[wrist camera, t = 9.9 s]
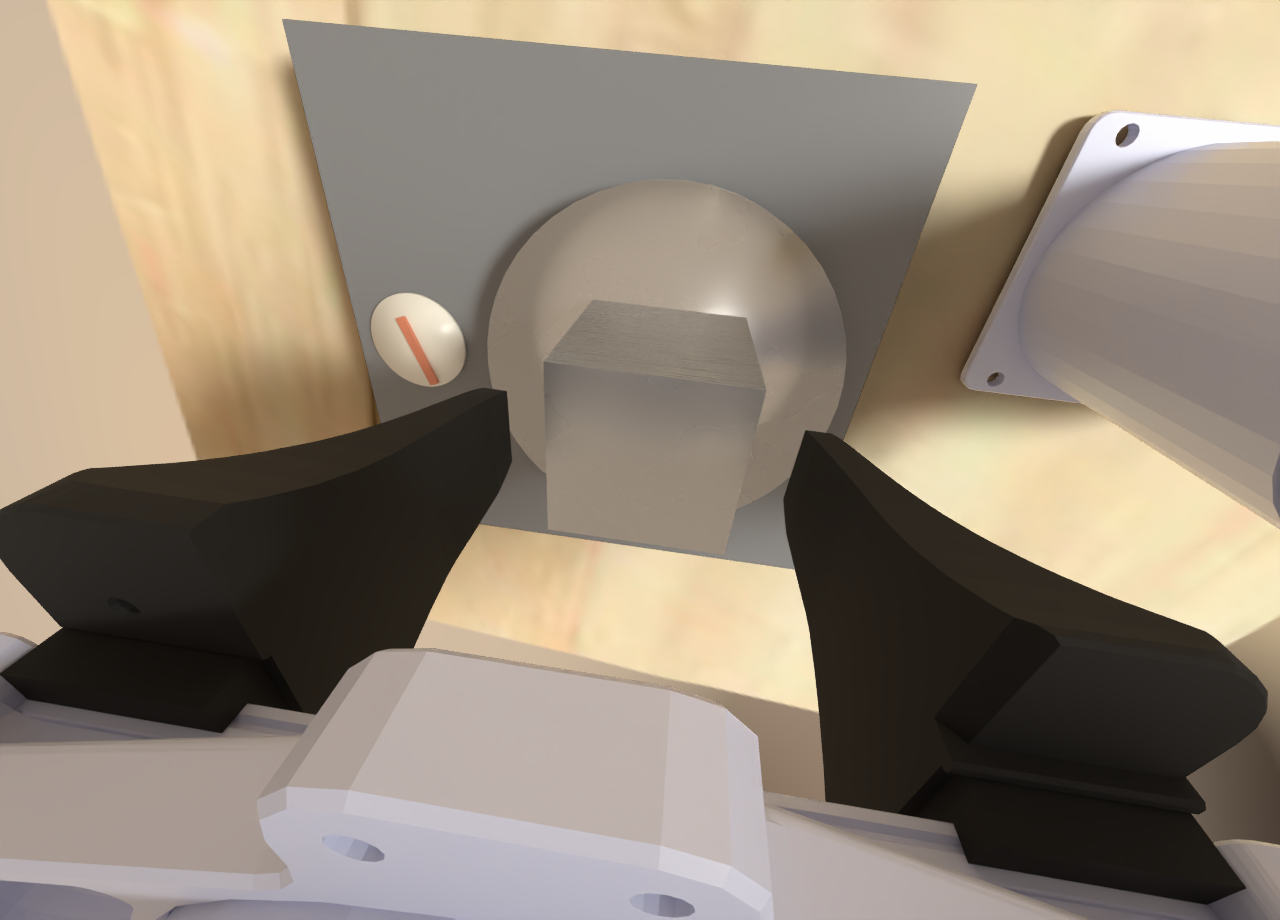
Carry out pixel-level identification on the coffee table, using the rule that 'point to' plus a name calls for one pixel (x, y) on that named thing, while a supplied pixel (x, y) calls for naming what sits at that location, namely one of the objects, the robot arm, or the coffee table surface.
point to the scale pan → (676, 303)
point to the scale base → (582, 165)
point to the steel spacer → (650, 424)
